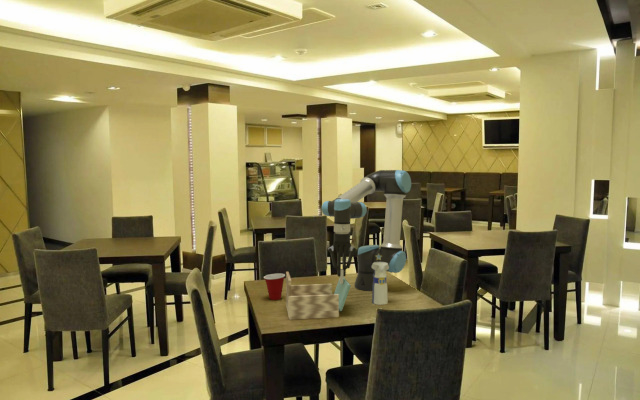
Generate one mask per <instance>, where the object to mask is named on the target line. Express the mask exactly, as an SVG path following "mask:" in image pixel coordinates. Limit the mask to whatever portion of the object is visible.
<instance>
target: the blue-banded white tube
mask: <svg viewBox="0 0 640 400" xmlns="http://www.w3.org/2000/svg"><path fill="white" fill-rule="evenodd" d="M376 257H377V260H378V259H379V260H381V257H382V256H380V255H379V254H378V255H376ZM372 269H374V274H373V277H374V282H373V291H372V295H371V297H372V298H371V303H372V304H374V305H381V306H382V305H383V306H384V305H387V304H388V302H389V301H388V299H389V298H388V282H387V277H388V275H387V272H386V271H387V270H388V269H389V266H388V263H386V262H374V263H373V264H372Z"/></svg>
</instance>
